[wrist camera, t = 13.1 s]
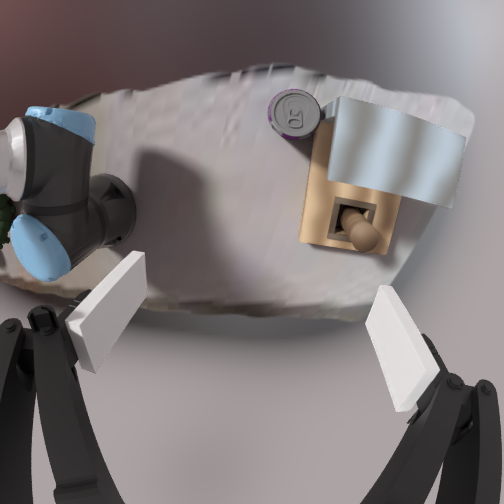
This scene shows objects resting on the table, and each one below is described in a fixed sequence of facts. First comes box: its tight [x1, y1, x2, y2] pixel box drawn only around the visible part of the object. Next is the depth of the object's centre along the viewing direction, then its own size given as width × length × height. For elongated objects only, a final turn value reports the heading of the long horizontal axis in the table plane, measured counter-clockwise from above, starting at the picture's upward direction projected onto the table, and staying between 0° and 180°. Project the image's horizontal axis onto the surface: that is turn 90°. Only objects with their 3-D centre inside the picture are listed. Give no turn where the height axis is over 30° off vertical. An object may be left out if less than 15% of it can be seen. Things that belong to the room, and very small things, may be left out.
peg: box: [337, 205, 379, 252], centre depth 43 cm, size 4×4×12 cm
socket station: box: [298, 96, 466, 255], centre depth 37 cm, size 16×22×20 cm
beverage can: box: [268, 89, 321, 140], centre depth 37 cm, size 7×7×12 cm
